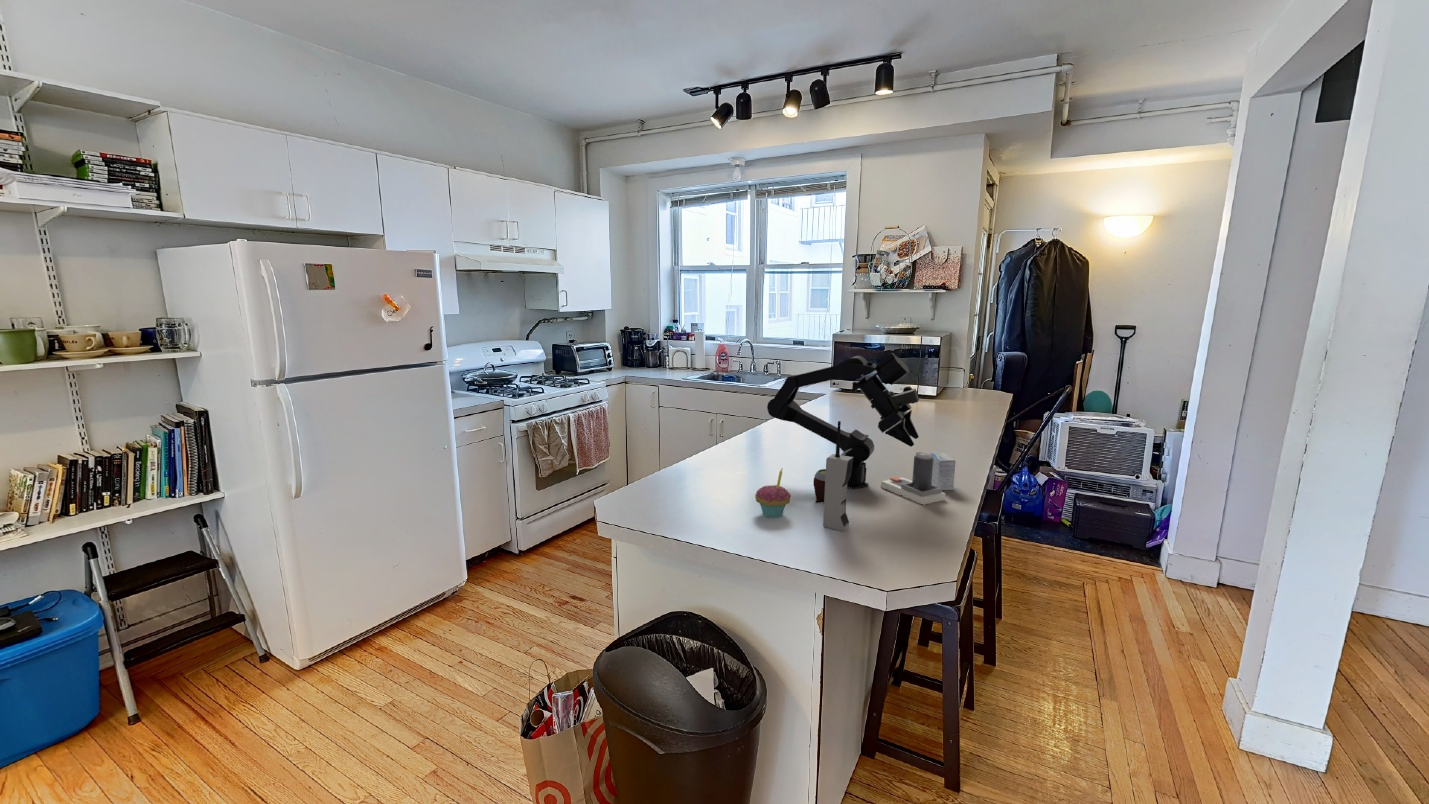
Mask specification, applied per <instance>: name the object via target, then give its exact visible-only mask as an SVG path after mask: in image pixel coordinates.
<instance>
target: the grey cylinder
mask: <svg viewBox="0 0 1429 804" xmlns="http://www.w3.org/2000/svg"><path fill="white" fill-rule="evenodd" d="M912 467H913V468H912V480H911V481H912V488H915V489H917V490H920V491H927V490H931V482H932V471H933V458H932V454H931V453H930V452H925V451H918V452H916V453H915V455H914V456H913V466H912Z"/></svg>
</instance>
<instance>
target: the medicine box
mask: <svg viewBox="0 0 1429 804" xmlns="http://www.w3.org/2000/svg"><path fill="white" fill-rule="evenodd" d="M930 454H932V458H933V471H932V482H931V484H932V485H934V486H937V487H940V488H942V491H954V487H955V475H956V474H955V473H956V472H955V471H956V460H955V459H953V458H952V457H951V456H949V455H948V454H946V453H945V452H932V453H930Z"/></svg>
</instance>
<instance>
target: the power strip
mask: <svg viewBox="0 0 1429 804" xmlns="http://www.w3.org/2000/svg"><path fill="white" fill-rule="evenodd" d="M889 478H890V479H886V480H880V488H882V489H884V490H886V489H887V491H888V492H891V493H893V492H894V494H897V495H899V496H901V495H902V496H901V497H903V498H904V499H905V498H906V499H908V498H909V500H910V499H911V500H910V501H913V502H915V501H916V502H915V503H918V504H920V505H922V504H923V506H924V505H928V504H933V502H934V503H937V502H941V501H943V502H944V501H945V500H946V493H945V492H943V490H942V488H940V487H937V486H934V485H932V484H931V490H927V491H920V490H917V489H915V488H912V480H911V479H908V478H905V477H904V476H903V477H897V476H893V477H889Z"/></svg>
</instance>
